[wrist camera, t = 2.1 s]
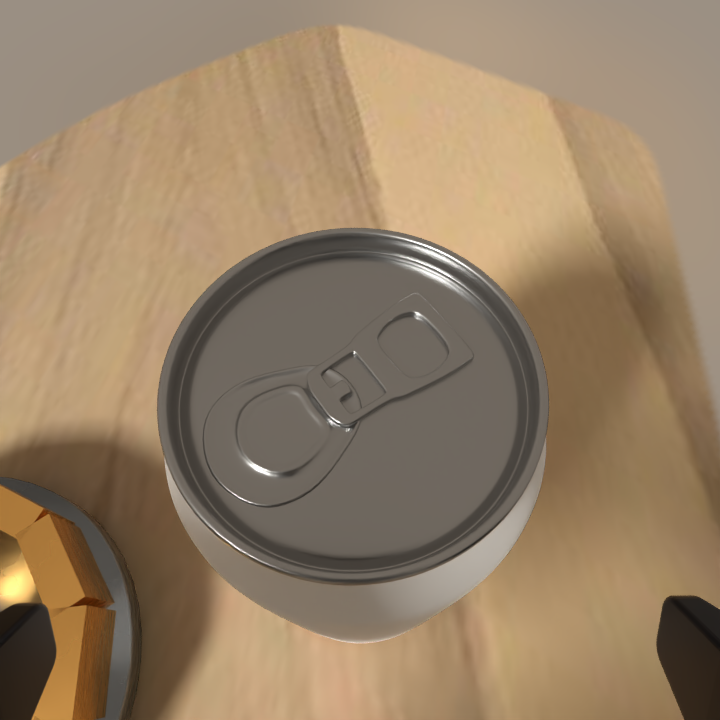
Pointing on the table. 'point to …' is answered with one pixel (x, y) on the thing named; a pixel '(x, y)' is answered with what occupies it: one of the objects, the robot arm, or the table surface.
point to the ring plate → (119, 576)
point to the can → (354, 429)
